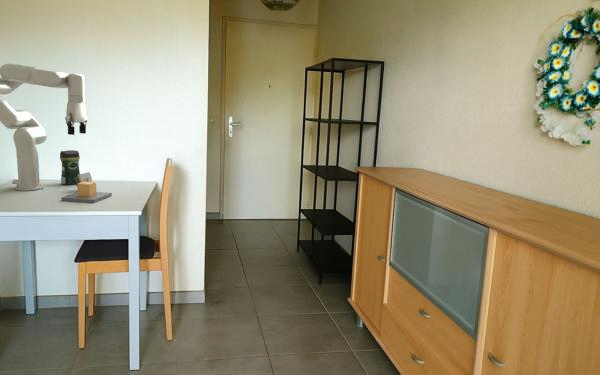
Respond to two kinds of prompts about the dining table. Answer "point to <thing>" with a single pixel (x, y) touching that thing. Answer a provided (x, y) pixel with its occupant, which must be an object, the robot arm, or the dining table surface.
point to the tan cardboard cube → (86, 189)
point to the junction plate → (92, 199)
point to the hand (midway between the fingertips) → (77, 133)
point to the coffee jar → (69, 166)
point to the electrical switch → (83, 178)
